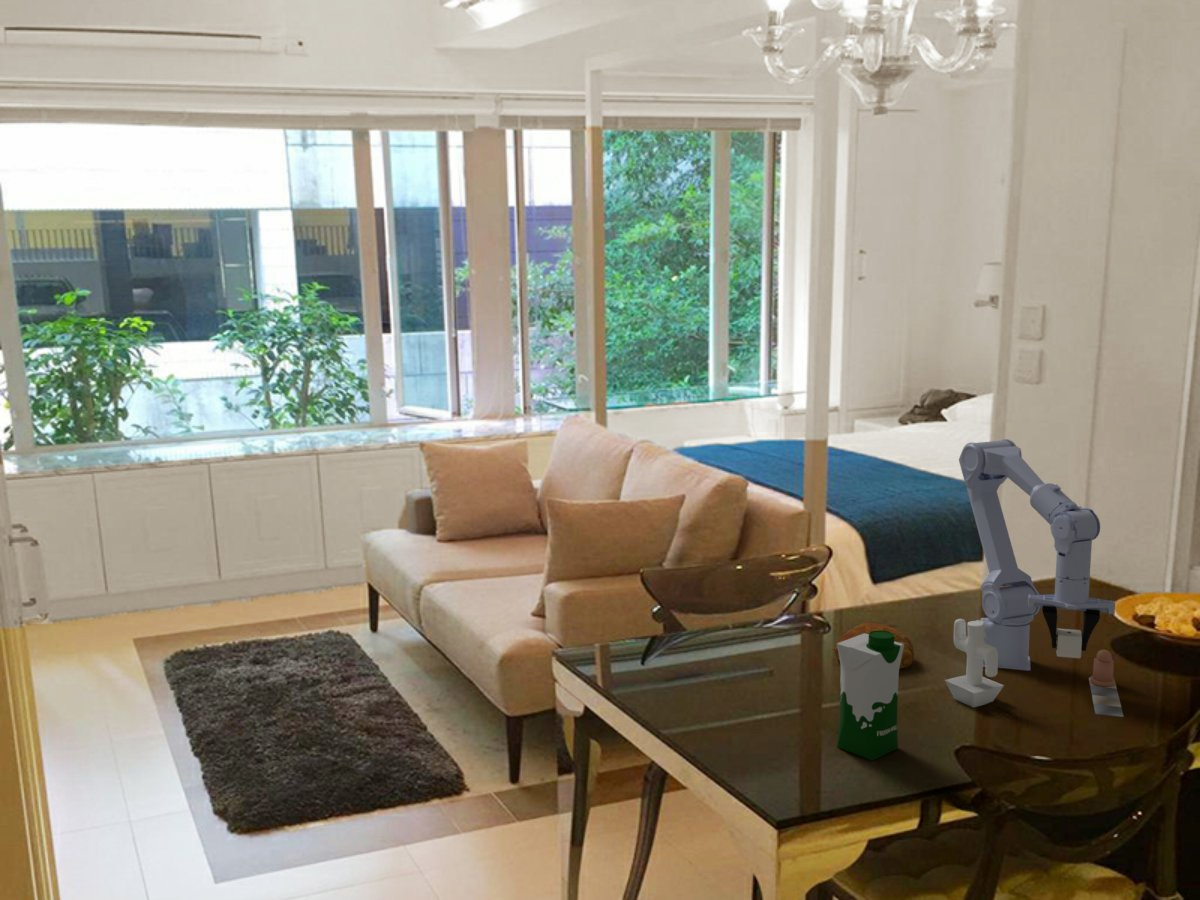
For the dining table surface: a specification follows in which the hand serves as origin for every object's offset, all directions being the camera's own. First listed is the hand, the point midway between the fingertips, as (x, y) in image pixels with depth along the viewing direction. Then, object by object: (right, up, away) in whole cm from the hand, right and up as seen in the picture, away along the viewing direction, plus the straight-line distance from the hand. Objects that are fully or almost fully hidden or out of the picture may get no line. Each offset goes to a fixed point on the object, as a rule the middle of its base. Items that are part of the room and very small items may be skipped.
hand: (1068, 647), depth 214 cm
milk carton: (-41, -13, -21) cm, 48 cm away
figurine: (-18, -10, -3) cm, 21 cm away
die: (0, -1, 0) cm, 1 cm away
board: (+2, -9, -1) cm, 9 cm away
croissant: (-31, -6, +19) cm, 37 cm away
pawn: (+8, -7, +4) cm, 11 cm away
